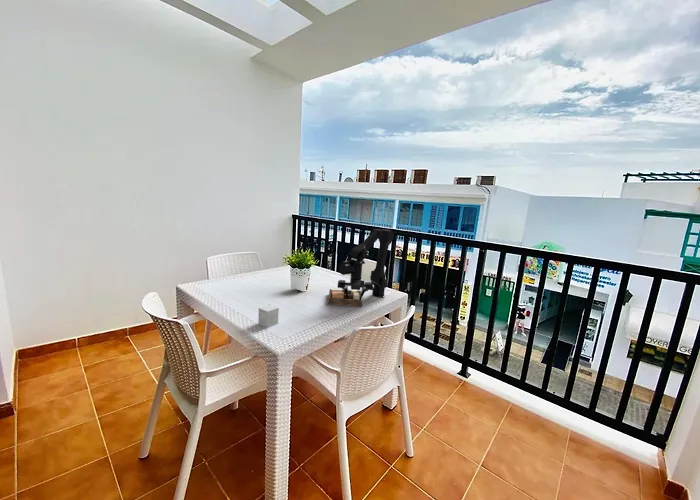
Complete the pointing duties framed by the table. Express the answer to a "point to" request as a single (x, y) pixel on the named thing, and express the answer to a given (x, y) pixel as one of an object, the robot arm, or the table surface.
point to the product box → (268, 315)
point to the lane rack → (345, 299)
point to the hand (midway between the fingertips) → (353, 300)
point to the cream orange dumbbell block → (340, 294)
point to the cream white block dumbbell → (341, 290)
